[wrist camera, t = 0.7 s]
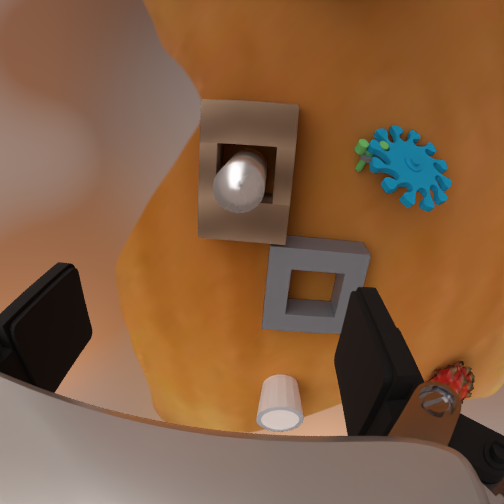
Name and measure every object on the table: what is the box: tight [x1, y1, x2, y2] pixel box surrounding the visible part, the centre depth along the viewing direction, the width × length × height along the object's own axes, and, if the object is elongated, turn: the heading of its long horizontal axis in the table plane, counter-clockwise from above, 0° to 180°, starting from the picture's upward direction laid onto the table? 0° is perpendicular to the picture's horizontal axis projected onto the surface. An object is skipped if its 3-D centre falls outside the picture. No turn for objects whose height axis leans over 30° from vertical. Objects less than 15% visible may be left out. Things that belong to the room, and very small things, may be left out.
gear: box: [355, 125, 451, 211], centre depth 30 cm, size 11×6×10 cm
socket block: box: [262, 235, 371, 334], centre depth 37 cm, size 11×11×4 cm
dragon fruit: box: [428, 361, 475, 404], centre depth 42 cm, size 8×8×12 cm
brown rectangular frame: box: [198, 99, 299, 245], centre depth 31 cm, size 14×9×4 cm, turn 176°
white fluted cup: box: [256, 374, 304, 432], centre depth 44 cm, size 7×7×7 cm
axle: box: [213, 148, 267, 213], centre depth 29 cm, size 4×4×10 cm
